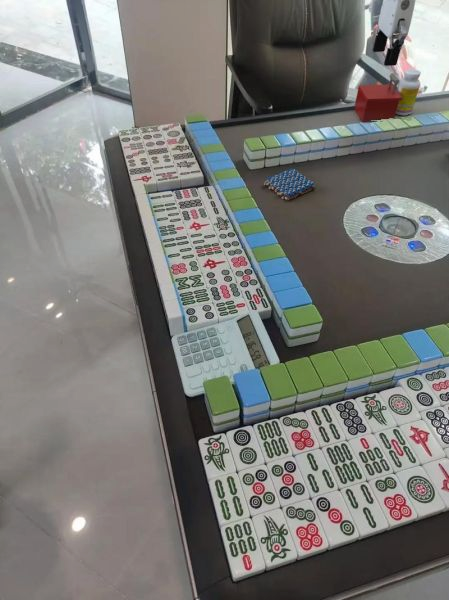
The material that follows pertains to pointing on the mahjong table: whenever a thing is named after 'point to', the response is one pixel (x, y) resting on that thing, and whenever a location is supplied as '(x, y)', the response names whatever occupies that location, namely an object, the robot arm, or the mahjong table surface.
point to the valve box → (374, 108)
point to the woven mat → (289, 184)
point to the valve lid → (381, 91)
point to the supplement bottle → (408, 91)
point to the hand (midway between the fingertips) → (384, 58)
